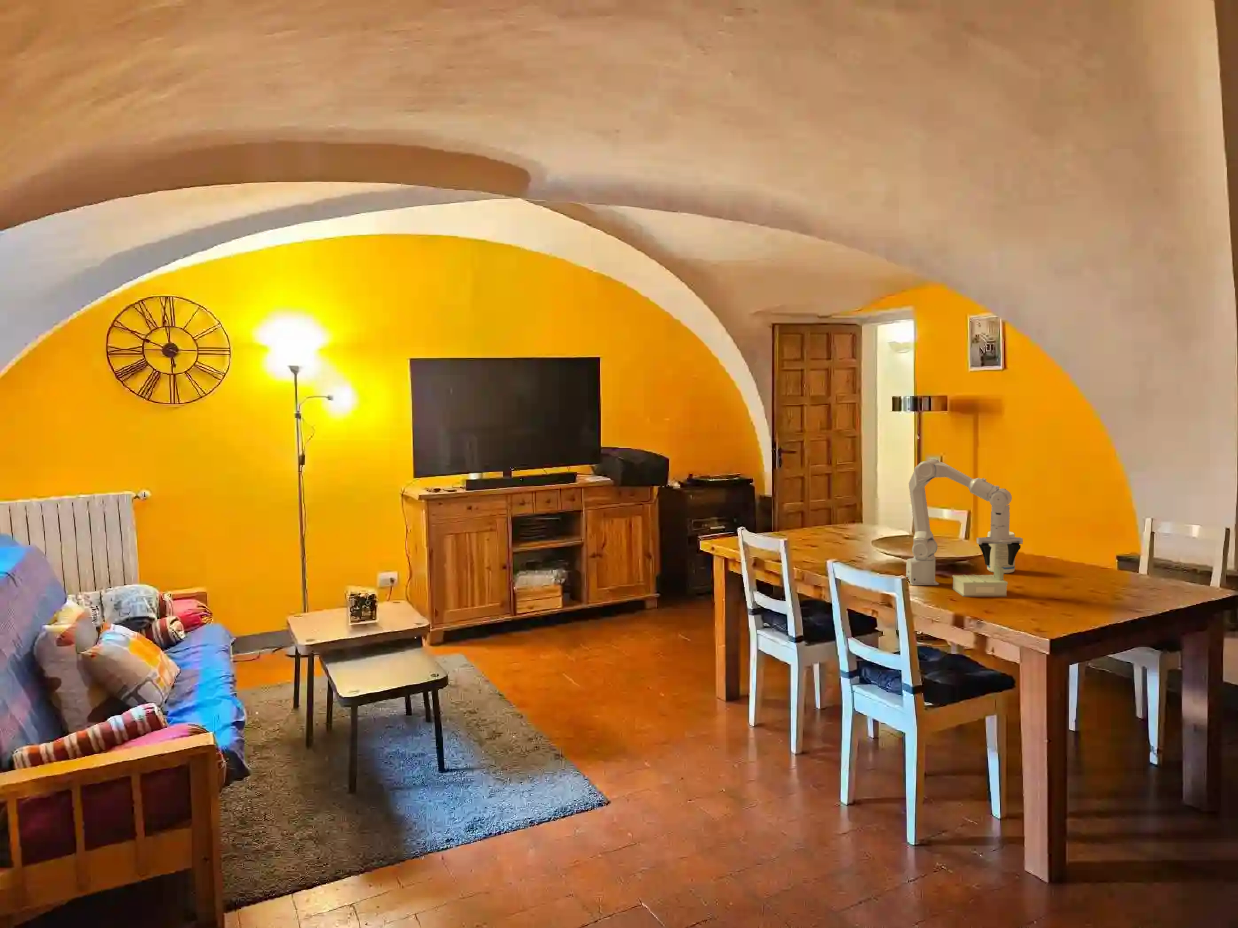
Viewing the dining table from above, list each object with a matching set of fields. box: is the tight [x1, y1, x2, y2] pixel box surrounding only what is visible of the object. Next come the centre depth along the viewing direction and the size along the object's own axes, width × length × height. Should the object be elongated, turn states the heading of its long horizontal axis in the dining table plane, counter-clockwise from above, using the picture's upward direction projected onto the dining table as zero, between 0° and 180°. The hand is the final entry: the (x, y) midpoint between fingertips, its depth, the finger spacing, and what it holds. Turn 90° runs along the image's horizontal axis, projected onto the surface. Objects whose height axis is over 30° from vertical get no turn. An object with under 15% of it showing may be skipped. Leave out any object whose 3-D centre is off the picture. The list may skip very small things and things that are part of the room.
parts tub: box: [952, 578, 1008, 597], centre depth 280 cm, size 14×10×4 cm
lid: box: [952, 565, 1009, 586], centre depth 280 cm, size 14×10×5 cm
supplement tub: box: [986, 530, 1016, 574], centre depth 310 cm, size 10×10×15 cm
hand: (998, 564), depth 279 cm, fingers open, 7 cm apart
